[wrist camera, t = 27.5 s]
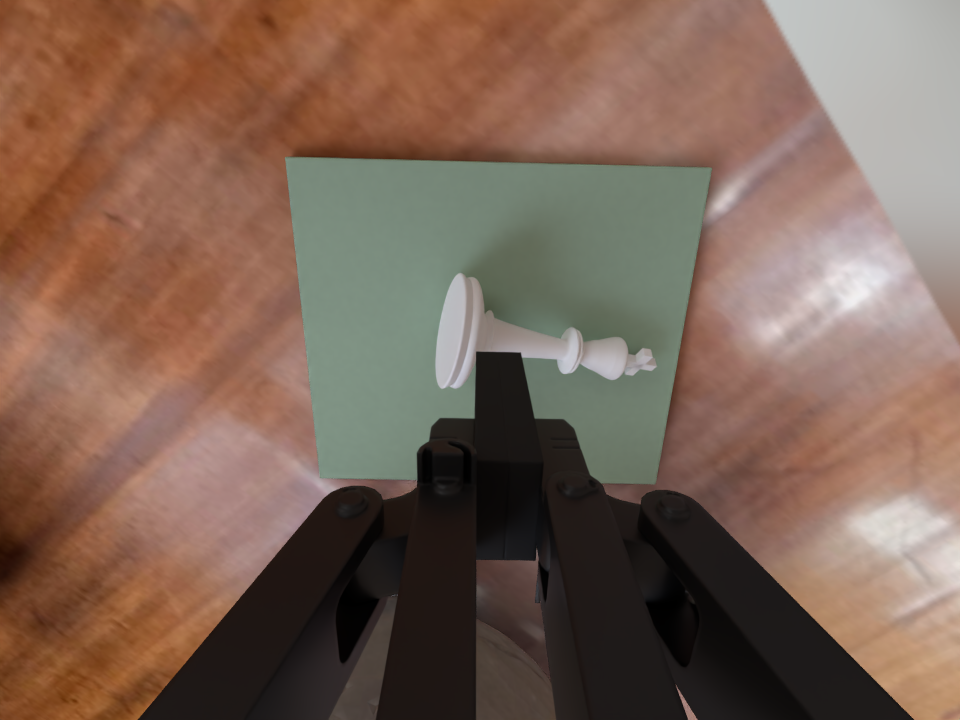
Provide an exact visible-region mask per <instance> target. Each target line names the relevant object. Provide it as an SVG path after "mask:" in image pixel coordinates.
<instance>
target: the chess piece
mask: <svg viewBox="0 0 960 720" xmlns="http://www.w3.org/2000/svg"><path fill="white" fill-rule="evenodd" d="M476 351H480V352H521V355H522V358H542V359H557V364H558V368H559V370H560V372H561V373H563V374H568V373H573V372H574V371H575V370H576V369H577V367H578V365H579V364H581V365H583V366H584V367H586V368H588V369H590V370H592V371H594V372H596V373H598V374H600V375H601V376H603V377H605V378H607V379H609V380H615V379H617V378H619V377H620V376H621V375H622V374H623V372H625V375H632V376H633V375H634V374H635V373H636V372H638V371H639V370H640V369H642V370H648V371H652V370H653V369H654V368H656V367H657V365H656V361H655V358H653V356H652V352H651V349H646V348H642V349H641V350H640V351H639V352H638V353H637V354H636V355H631V354H628V347H627V344H626V342H625V341H624V340H623V339H622V338H620V337H610V338H606V339H600V340H591V341H586V342H583V338H582V335H581V333H580V331H579V330H577V329H575V328H573V327H570V328H568V329H567V330H566V331H565V332H564V333H563V335H562V337H561V339H560V338H556V337H553V336H549V335H545V334H542V333H538V332H535V331H532V330H529V329H525V328H522V327H519V326H516V325H513V324H510V323H507V322H504V321H501V320H498V319H496V318H494V315H493V312H492V311H491V310H489V311H487V312H486V313H484V300H483V293H482V289H481V286H480V283H479V282H478V280H477V279H476V278H474V277H468V278H467V277H466V276H465V275H464V274H462V273H458V274H457V275H456V276H455V277H454V279H453V281H452V283H451V285H450V287H449V290H448V292H447V295H446V299H445V302H444V306H443V310H442V314H441V319H440V324H439V330H438V337H437V346H436V360H435V369H436V379H437V383H438V385H439V387H440V388H441V389H444V388H447V387H449V386H450V387H451V388H454V389H456V388H459V387H461V386H462V385H463V384H464V383H465V382H466V380H467V379H468V377H469V375H470V373H471V371H472V369H473V367H474V365H475V362H476Z"/></svg>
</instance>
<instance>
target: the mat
mask: <svg viewBox="0 0 960 720" xmlns="http://www.w3.org/2000/svg"><path fill="white" fill-rule="evenodd" d="M285 160H286V169H287V178H288V188H289V197H290V206H291V215H292V225H293V234H294V243H295V252H296V261H297V271H298V280H299V289H300V298H301V307H302V317H303V326H304V335H305V344H306V353H307V363H308V372H309V381H310V390H311V399H312V409H313V418H314V427H315V436H316V445H317V455H318V464H319V473H320V478H338V479H393V480H417V451H418V450H419V448H420V447H421V446H422V445H423V444H425V443H426V442H429V437H430V431H431V426H432V425H433V424H434V423H435V422H436V421H437V420H438V419H439V418H474V416H475V374H476V362H475V365H474V367H473V369H472V371H471V373H470V375H469V377H468V379H467V380H466V382H465V383H464V384H463V385H462V386H461V387H459V388H456V389H454V388H451V387H450V386H449V387H447V388H444V389H441V388H440V387H439V385H438V383H437V379H436V369H435V360H436V346H437V337H438V330H439V324H440V319H441V314H442V310H443V306H444V302H445V299H446V295H447V292H448V290H449V287H450V285H451V283H452V281H453V279H454V277H455V276H456V275H457V274H458V273H462V274H464V275H465V276H466V277H467V278H468V277H474V278H476V279H477V280H478V282H479V283H480V286H481V289H482V293H483V300H484V313H486V312H487V311H489V310H491V311H492V312H493V315H494V318H496V319H498V320H501V321H504V322H507V323H510V324H513V325H516V326H519V327H522V328H525V329H529V330H532V331H535V332H538V333H542V334H545V335H549V336H553V337H556V338H560V339H561V337H562V335H563V333H564V332H565V331H566V330H567V329H568V328H570V327H573V328H575V329H577V330H579V331H580V333H581V335H582V338H583V342H586V341H591V340H600V339H606V338H610V337H620V338H622V339H623V340H624V341H625V342H626V344H627V347H628V354H631V355H636V354H637V353H638V352H639V351H640V350H641V349H642V348H646V349H651V352H652V356H653V358H655V361H656V365H657V367H656V368H654V369H653V370H652V371H648V370H642V369H640V370H639V371H638V372H636V373H635V374H634V375H633V376H632V375H625V372H623V374H622V375H621V376H620V377H619V378H617V379H615V380H609V379H607V378H605V377H603V376H601V375H600V374H598V373H596V372H594V371H592V370H590V369H588V368H586V367H584V366H583V365H581V364H579V365H578V367H577V369H576V370H575V371H574V372H573V373H568V374H563V373H561V372H560V370H559V368H558V364H557V359H542V358H522V360H523V365H524V369H525V374H526V379H527V384H528V389H529V393H530V398H531V403H532V408H533V413H534V417H535V418H537V419H564V420H565V421H566V422H568V423H569V424H570V425H571V426H572V427H573V428H574V429H575V432H576V435H577V438H578V441H579V444H580V449H581V450H582V453H583V456H584V459H585V462H586V465H587V468H588V470H589V473H590V475H591V476H592V477H594V478H595V479H597V480H598V481H599V482H600V483H612V484H656V479H657V473H658V468H659V462H660V456H661V451H662V445H663V440H664V434H665V429H666V423H667V417H668V412H669V406H670V401H671V395H672V390H673V384H674V378H675V373H676V367H677V362H678V356H679V350H680V345H681V339H682V334H683V328H684V323H685V317H686V311H687V306H688V300H689V295H690V289H691V283H692V278H693V272H694V267H695V261H696V256H697V250H698V244H699V239H700V233H701V228H702V222H703V216H704V211H705V205H706V200H707V194H708V189H709V183H710V177H711V172H712V168H710V167H679V166H639V165H600V164H560V163H520V162H481V161H441V160H402V159H362V158H322V157H285Z"/></svg>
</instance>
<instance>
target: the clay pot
mask: <svg viewBox="0 0 960 720" xmlns="http://www.w3.org/2000/svg"><path fill="white" fill-rule="evenodd" d="M396 603H397V597H396V596H388V599H387V603H386V606H385V608H384V610H383V612H382V614H381V616H380V618H379V620H378V622H377V624H376V626H375V628H374V630H373V632H372V634H371V636H370V638H369V640H368V642H367V644H366V646H365V648H364V650H363V652H362V654H361V656H360V658H359V660H358V662H357V664H356V666H355V668H354V670H353V672H352V674H351V676H350V678H349V680H348V681H347V683H346V685H345V687H344V689H343V691H342V693H341V695H340V697H339V699H338V701H337V703H336V705H335V707H334V709H333V711H332V713H331V715H330V717H329V719H328V720H376V716H377V710H378V704H379V699H380V693H381V687H382V682H383V676H384V671H385V665H386V659H387V654H388V648H389V642H390V637H391V631H392V625H393V620H394V614H395V608H396ZM476 720H556V715H555V708H554V700H553V693H552V685H551V681H550V680H549V678H548V677H547V676H546V675H545V673H544V672H543V671H542V669H541V668H540V667H539V666H538V664H537V663H536V662H535V661H534V660H533V659H532V658H531V657H530V656H529V655H528V654H526V653H525V652H524V651H523V650H522V649H521V648H520V647H519V646H518V645H517V644H516V643H514V642H513V641H512V640H511V639H510V638H508V637H507V636H505V635H504V634H503V633H501V632H500V631H498V630H496V629H494V628H493V627H491V626H489V625H487V624H485V623H484V622H482V621H480V620H479V619H477V618H476Z"/></svg>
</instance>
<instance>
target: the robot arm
mask: <svg viewBox="0 0 960 720" xmlns="http://www.w3.org/2000/svg"><path fill="white" fill-rule="evenodd" d="M536 550H537V551H538V557H539V562H538V574H537V585H536V597H535V603H540V602H541V610H542V617H543V625H544V632H545V640H546V647H547V655H548V662H549V670H550V678H551V685H552V693H553V700H554V708H555V715H556V720H688V718H687V715H686V712H685V710H684V707H683V704H682V701H681V699H680V696H679V693H678V690H677V688H676V685H677V687H678V689H679V690H680V692H681V694H682V695H683V697H684V698H685V700H686V702H687V703H688V705H689V706H690V708H691V710H692V711H693V713H694V715H695V716H696V718H697V719H698V720H914V719H913V718H912V717H911V716H910V715H909V714H908V713H907V712H906V711H905V710H904V709H903V708H902V707H901V706H900V705H899V704H898V703H897V702H896V701H895V700H894V699H893V698H892V697H891V696H890V695H889V694H888V693H887V692H886V691H885V690H884V689H883V688H882V687H881V686H880V685H879V684H878V683H877V682H876V681H875V680H874V679H873V678H872V677H871V676H870V675H869V674H868V673H867V672H866V671H865V670H864V669H863V668H862V667H861V666H860V665H859V664H858V663H857V662H856V661H855V660H854V659H853V658H852V657H851V656H850V655H849V654H848V653H847V652H846V651H845V650H844V649H843V648H842V647H841V646H840V645H839V644H838V643H837V642H836V641H835V640H834V639H833V638H832V637H831V636H830V635H829V634H828V633H827V632H826V631H825V630H824V629H823V628H822V627H821V626H820V625H819V624H818V623H817V622H816V621H815V620H814V619H813V618H812V617H811V616H810V615H809V614H808V613H807V612H806V611H805V610H804V609H803V608H802V607H801V606H800V605H799V604H798V603H797V602H796V601H795V599H794V598H793V597H792V596H791V595H790V594H789V593H788V592H787V591H786V590H785V589H784V588H783V587H782V586H781V585H780V584H779V583H778V582H777V581H776V580H775V579H774V578H773V577H772V576H771V575H770V574H769V573H768V572H767V571H766V570H765V569H764V568H763V567H762V566H761V565H760V564H759V563H758V562H757V561H756V560H755V559H754V558H753V557H752V556H751V555H750V554H749V553H748V552H747V551H746V550H745V549H744V548H743V547H742V546H741V545H740V544H739V543H738V542H737V541H736V540H735V539H734V538H733V537H732V536H731V535H730V534H729V533H728V532H727V531H726V530H725V529H724V528H723V527H722V526H721V525H720V524H719V523H718V522H717V521H716V520H715V519H714V518H713V517H712V516H711V515H710V514H709V513H708V512H707V511H706V510H705V509H704V508H703V507H702V506H701V505H700V504H699V503H697V502H696V501H695V500H693V499H692V498H690V497H688V496H686V495H684V494H681V493H678V492H675V491H669V490H655V491H652V492H649V493H647V494H646V495H645V496H643V497H642V500H641V505H639V504H635V503H631V502H626V501H622V500H619V499H615V498H613V497H611V496H609V495H606V493H605V490H604V487H603V486H602V485H601V483H600V482H599V481H598V480H597V479H595V478H594V477H592V476H591V475H590V473H589V470H588V468H587V465H586V462H585V459H584V456H583V453H582V450H581V449H580V444H579V441H578V438H577V435H576V432H575V429H574V428H573V427H572V426H571V425H570V424H569V423H568V422H566V421H565V420H564V419H537V418H535V417H534V413H533V408H532V403H531V398H530V393H529V389H528V384H527V379H526V374H525V369H524V365H523V360H522V355H521V352H480V351H476V374H475V416H474V418H439V419H438V420H437V421H436V422H435V423H434V424H433V425H432V426H431V431H430V437H429V442H426V443H425V444H423V445H422V446H421V447H420V448H419V450H418V451H417V488H415V489H414V490H413V491H411V492H410V493H407V494H405V495H403V496H400V497H396V498H392V499H387V500H383V499H382V496H381V494H380V493H378V492H377V491H376V490H375V489H372V488H369V487H366V486H349V487H344V488H340V489H338V490H336V491H333V492H331V493H330V494H329V495H327V496H326V497H325V498H324V499H323V500H322V501H321V502H320V503H319V504H318V506H317V507H316V508H315V509H314V510H313V512H312V513H311V514H310V515H309V516H308V518H307V519H306V520H305V521H304V522H303V524H302V525H301V526H300V527H299V528H298V529H297V531H296V532H295V533H294V534H293V535H292V537H291V538H290V539H289V540H288V541H287V543H286V544H285V545H284V546H283V547H282V549H281V550H280V551H279V552H278V553H277V555H276V556H275V557H274V558H273V559H272V560H271V562H270V563H269V564H268V565H267V566H266V568H265V569H264V570H263V571H262V572H261V574H260V575H259V576H258V577H257V578H256V580H255V581H254V582H253V583H252V584H251V586H250V587H249V588H248V589H247V590H246V591H245V593H244V594H243V595H242V596H241V597H240V599H239V600H238V601H237V602H236V603H235V605H234V606H233V607H232V608H231V609H230V611H229V612H228V613H227V614H226V615H225V617H224V618H223V619H222V620H221V621H220V622H219V624H218V625H217V626H216V627H215V628H214V630H213V631H212V632H211V633H210V634H209V636H208V637H207V638H206V639H205V640H204V642H203V643H202V644H201V645H200V646H199V648H198V649H197V650H196V651H195V652H194V653H193V655H192V656H191V657H190V658H189V659H188V661H187V662H186V663H185V664H184V665H183V667H182V668H181V669H180V670H179V671H178V673H177V674H176V675H175V676H174V677H173V678H172V680H171V681H170V682H169V683H168V684H167V686H166V687H165V688H164V689H163V690H162V692H161V693H160V694H159V695H158V696H157V698H156V699H155V700H154V701H153V702H152V704H151V705H150V706H149V707H148V708H147V709H146V711H145V712H144V713H143V714H142V715H141V717H140V718H139V719H138V720H328V719H329V717H330V715H331V713H332V711H333V709H334V707H335V705H336V703H337V701H338V699H339V697H340V695H341V693H342V691H343V689H344V687H345V685H346V683H347V681H348V680H349V678H350V676H351V674H352V672H353V670H354V668H355V666H356V664H357V662H358V660H359V658H360V656H361V654H362V652H363V650H364V648H365V646H366V644H367V642H368V640H369V638H370V636H371V634H372V632H373V630H374V628H375V626H376V624H377V622H378V620H379V618H380V616H381V614H382V612H383V610H384V608H385V606H386V603H387V599H388V596H391V595H395V594H398V597H397V603H396V608H395V614H394V620H393V625H392V631H391V637H390V642H389V648H388V654H387V659H386V665H385V671H384V676H383V682H382V687H381V693H380V699H379V704H378V710H377V716H376V720H476V560H529V561H536ZM675 684H676V685H675Z"/></svg>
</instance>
